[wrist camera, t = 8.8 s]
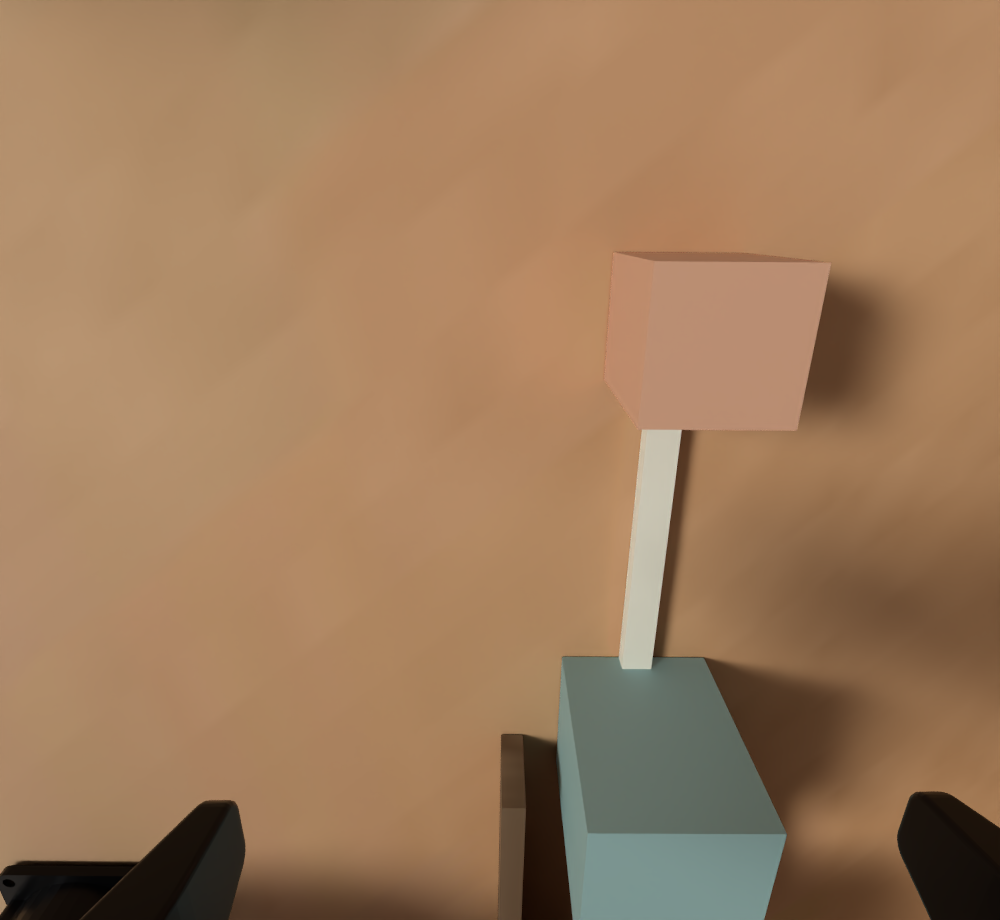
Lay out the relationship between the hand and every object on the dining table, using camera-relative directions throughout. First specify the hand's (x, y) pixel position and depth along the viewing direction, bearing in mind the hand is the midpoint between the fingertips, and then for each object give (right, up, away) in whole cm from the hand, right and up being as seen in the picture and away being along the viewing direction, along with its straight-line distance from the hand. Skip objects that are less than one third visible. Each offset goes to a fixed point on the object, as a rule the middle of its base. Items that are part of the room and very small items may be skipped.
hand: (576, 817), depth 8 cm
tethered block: (+4, +2, +11) cm, 12 cm away
